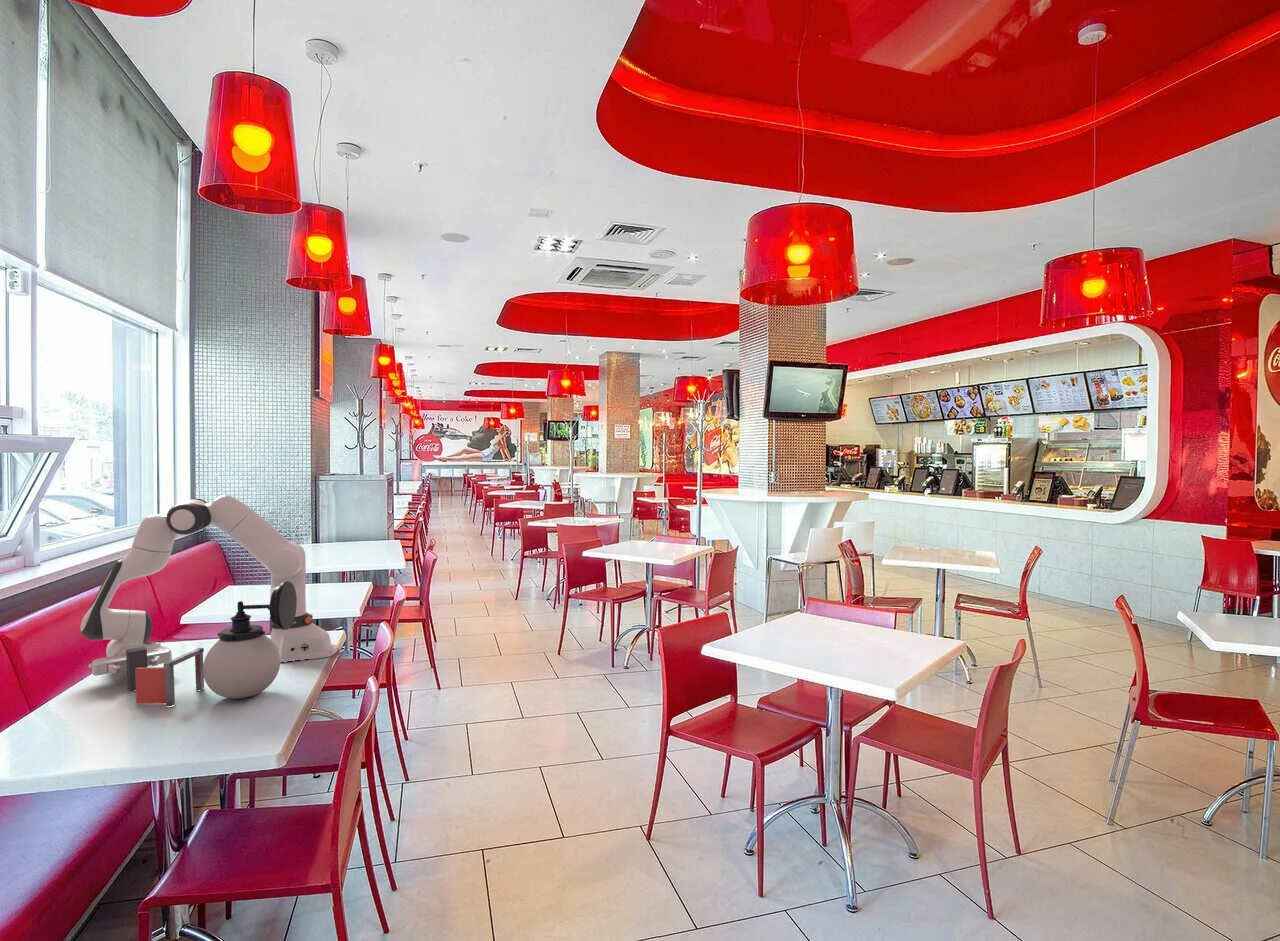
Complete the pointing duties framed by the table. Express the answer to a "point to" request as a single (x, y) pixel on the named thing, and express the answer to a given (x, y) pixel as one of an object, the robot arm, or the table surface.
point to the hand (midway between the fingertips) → (136, 666)
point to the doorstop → (135, 664)
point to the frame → (170, 673)
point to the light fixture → (249, 649)
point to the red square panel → (150, 685)
